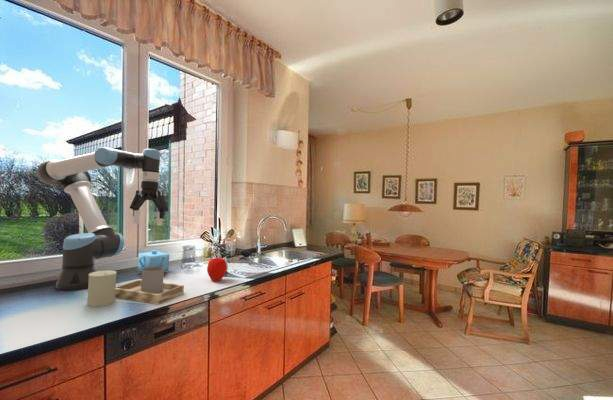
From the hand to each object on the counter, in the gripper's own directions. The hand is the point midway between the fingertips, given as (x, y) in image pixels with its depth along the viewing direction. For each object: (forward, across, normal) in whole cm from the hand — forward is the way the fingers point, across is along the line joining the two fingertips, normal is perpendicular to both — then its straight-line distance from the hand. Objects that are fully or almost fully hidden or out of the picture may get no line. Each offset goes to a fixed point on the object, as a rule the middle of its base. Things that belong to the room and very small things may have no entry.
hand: (147, 224), depth 141 cm
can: (+29, +5, -27) cm, 40 cm away
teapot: (+29, -7, +15) cm, 33 cm away
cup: (+28, +16, -13) cm, 34 cm away
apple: (+29, +28, +18) cm, 44 cm away
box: (+29, +14, -13) cm, 34 cm away
